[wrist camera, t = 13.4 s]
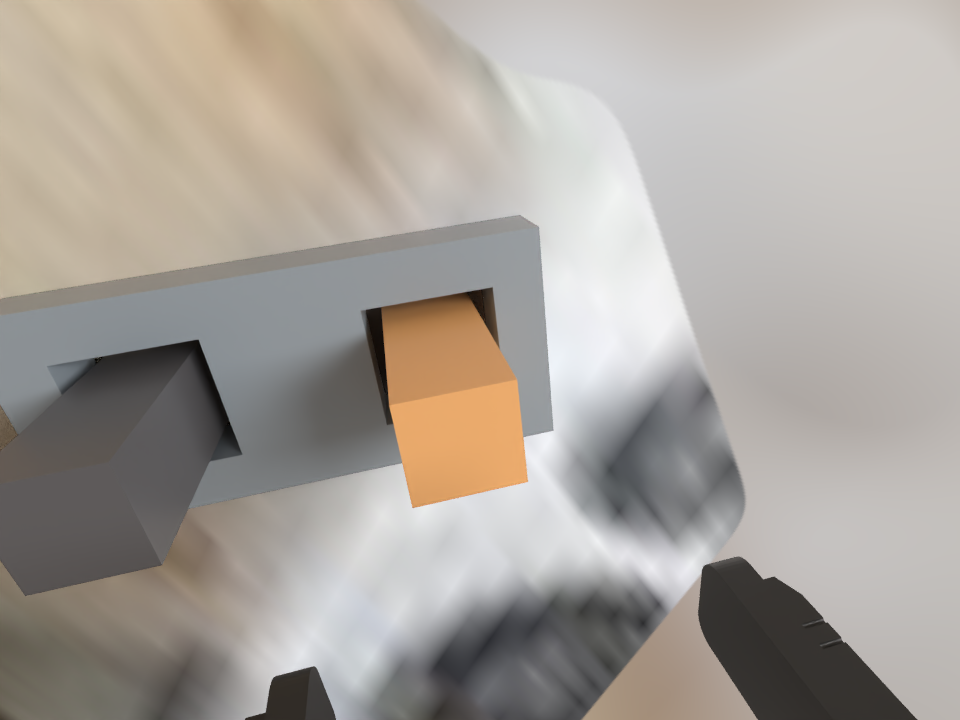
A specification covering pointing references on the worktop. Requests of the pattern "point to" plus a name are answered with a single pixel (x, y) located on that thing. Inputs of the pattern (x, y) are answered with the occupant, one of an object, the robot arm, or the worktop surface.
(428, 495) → the orange plug
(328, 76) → the worktop surface
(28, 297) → the slate power strip
